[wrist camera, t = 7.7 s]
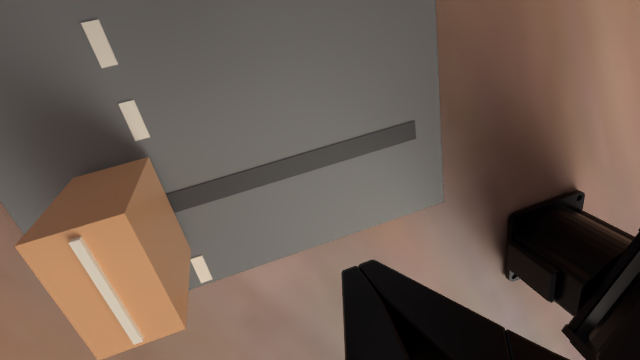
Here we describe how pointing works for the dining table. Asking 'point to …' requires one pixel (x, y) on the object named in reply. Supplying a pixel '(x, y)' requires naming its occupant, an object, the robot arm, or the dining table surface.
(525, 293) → the dining table surface
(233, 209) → the console board
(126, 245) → the orange fader
